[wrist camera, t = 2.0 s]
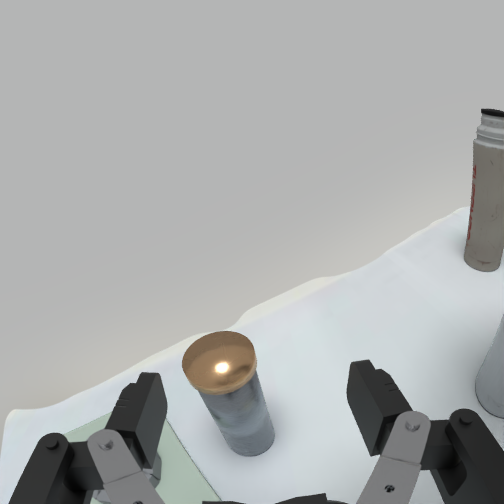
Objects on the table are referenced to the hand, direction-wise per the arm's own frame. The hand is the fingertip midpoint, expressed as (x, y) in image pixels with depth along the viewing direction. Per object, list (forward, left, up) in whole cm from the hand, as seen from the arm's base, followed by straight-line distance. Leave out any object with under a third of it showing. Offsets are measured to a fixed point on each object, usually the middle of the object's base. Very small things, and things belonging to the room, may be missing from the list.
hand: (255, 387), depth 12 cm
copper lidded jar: (-2, -9, -21) cm, 23 cm away
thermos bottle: (-52, -3, -21) cm, 56 cm away
